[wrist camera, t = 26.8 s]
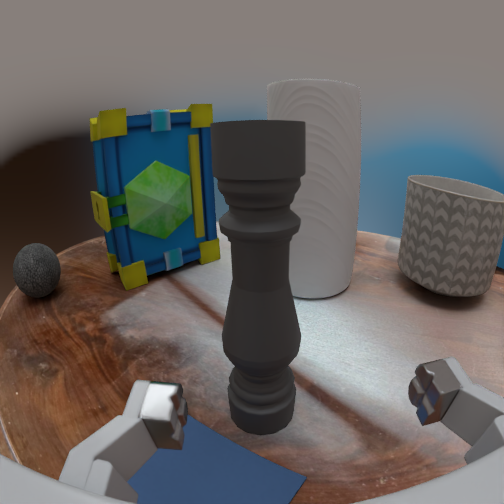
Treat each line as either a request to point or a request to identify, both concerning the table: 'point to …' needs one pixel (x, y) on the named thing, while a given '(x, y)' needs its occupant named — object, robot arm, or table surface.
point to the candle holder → (260, 264)
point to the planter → (451, 235)
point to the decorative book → (154, 190)
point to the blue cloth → (212, 473)
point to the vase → (323, 181)
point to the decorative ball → (36, 270)
